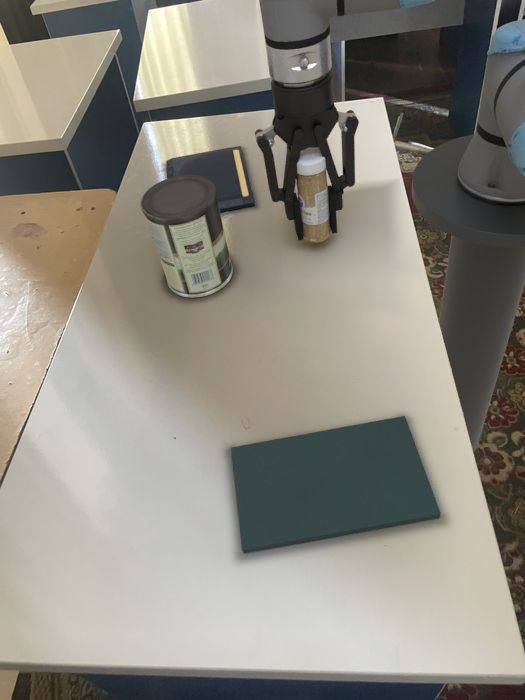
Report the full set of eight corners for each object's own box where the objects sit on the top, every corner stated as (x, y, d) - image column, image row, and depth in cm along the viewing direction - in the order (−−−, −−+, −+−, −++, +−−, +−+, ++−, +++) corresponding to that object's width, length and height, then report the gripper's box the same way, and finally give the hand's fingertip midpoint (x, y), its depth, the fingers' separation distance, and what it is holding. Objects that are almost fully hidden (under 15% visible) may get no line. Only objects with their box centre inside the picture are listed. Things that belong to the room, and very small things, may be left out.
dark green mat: (404, 420, 65) (404, 415, 64) (439, 518, 57) (441, 513, 56) (232, 451, 65) (230, 447, 64) (243, 553, 57) (242, 549, 56)
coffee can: (204, 244, 91) (184, 166, 81) (246, 271, 86) (231, 190, 75) (153, 278, 87) (125, 200, 77) (194, 308, 82) (170, 228, 71)
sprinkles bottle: (295, 235, 87) (285, 155, 77) (317, 221, 88) (310, 141, 78) (315, 248, 84) (307, 167, 74) (338, 233, 85) (333, 152, 75)
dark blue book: (164, 153, 108) (243, 139, 108) (167, 162, 110) (244, 148, 110) (164, 213, 95) (253, 198, 95) (167, 222, 97) (255, 207, 96)
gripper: (232, 102, 66) (262, 258, 83) (381, 71, 66) (380, 234, 83) (227, 76, 71) (256, 228, 88) (364, 47, 71) (367, 205, 88)
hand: (316, 231), depth 85 cm, fingers closed on sprinkles bottle, 4 cm apart
